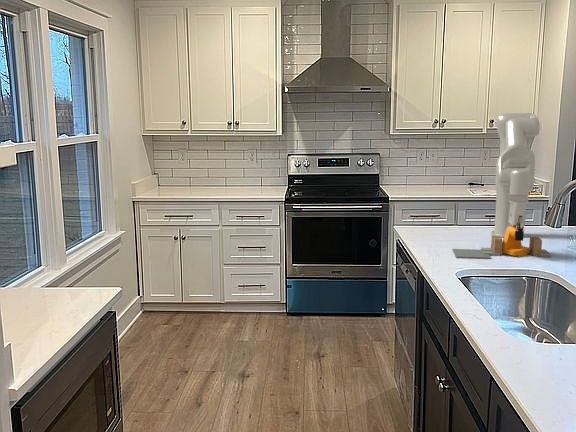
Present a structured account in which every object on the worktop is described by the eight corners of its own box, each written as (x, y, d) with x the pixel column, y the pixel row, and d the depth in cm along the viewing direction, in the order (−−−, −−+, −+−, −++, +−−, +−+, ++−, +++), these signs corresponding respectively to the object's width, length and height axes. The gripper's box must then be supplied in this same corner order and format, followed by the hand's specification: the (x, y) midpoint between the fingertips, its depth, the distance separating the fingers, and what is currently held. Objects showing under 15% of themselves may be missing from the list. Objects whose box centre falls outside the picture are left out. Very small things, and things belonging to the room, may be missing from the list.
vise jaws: (480, 249, 250) (481, 234, 249) (545, 251, 246) (546, 236, 244) (484, 255, 240) (485, 239, 239) (551, 257, 236) (552, 241, 235)
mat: (452, 250, 250) (452, 248, 250) (485, 251, 248) (485, 249, 248) (456, 257, 237) (456, 256, 237) (490, 258, 234) (491, 257, 234)
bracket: (513, 257, 237) (515, 229, 234) (500, 253, 243) (501, 226, 241) (531, 254, 242) (533, 227, 239) (517, 250, 248) (519, 224, 246)
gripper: (505, 196, 248) (503, 234, 250) (513, 201, 231) (511, 241, 233) (523, 196, 246) (520, 234, 249) (533, 201, 229) (530, 242, 232)
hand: (516, 238), depth 241 cm, fingers open, 9 cm apart
